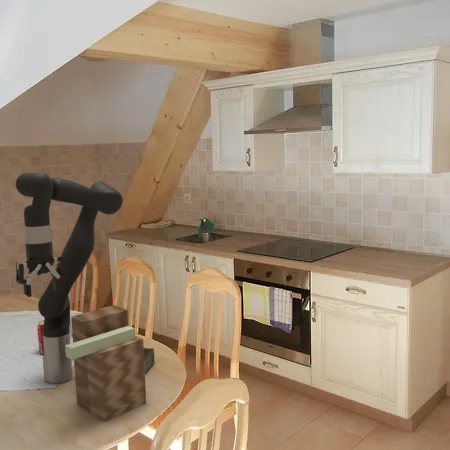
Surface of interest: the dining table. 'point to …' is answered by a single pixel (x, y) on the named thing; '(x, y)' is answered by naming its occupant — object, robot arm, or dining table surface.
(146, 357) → the beverage carton
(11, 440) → the dining table surface
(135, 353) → the display stand
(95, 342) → the sage bar
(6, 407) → the dining table surface
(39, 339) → the soda can
